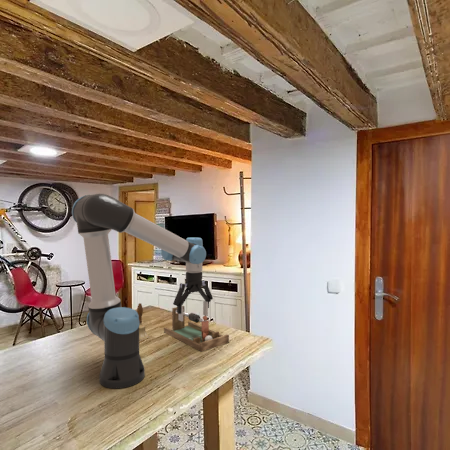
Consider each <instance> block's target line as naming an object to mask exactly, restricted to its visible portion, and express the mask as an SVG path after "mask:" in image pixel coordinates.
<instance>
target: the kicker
mask: <svg viewBox="0 0 450 450" xmlns="http://www.w3.org/2000/svg"><path fill="white" fill-rule="evenodd" d="M176 313H177V310H176ZM183 315H185V317H188V320H189V321H190V322H193V323H195V324H198V323H201V326H202V342H204V341H205V337H206V336H208V335H209V330H210V329H209V324H210V323H209V322H210V321H209V320H208V316H205V315H203V317H202V318H201V316H200V315H199V314H196V313H194V312H190V313H188V312H185V311H184V312H183Z"/></svg>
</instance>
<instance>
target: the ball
mask: <svg viewBox="0 0 450 450" xmlns="http://www.w3.org/2000/svg"><path fill="white" fill-rule="evenodd" d="M211 339H213V338H212V337H211V336H209V335H208V336H206V337H205V341H208V340H211Z"/></svg>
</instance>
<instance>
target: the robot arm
mask: <svg viewBox="0 0 450 450" xmlns="http://www.w3.org/2000/svg"><path fill="white" fill-rule="evenodd" d="M71 215H72V218H73V220H74V221H75V223H76V226H77V234H79V236H81V237H82V238H83V244H84V251H85V259H86V266H87V268H86V269H87V275H88V282H89V290H90V296H91V297H90V298H91V301H90V302H89V303H88V304H87V305H88V306H87V307H88V312H87V315H86V323H87V327H88V330H89V331H90V332H91V333H92V334H93V335H95V336H96V337H98V338H99V339H100V340H102V341H103V342H104V348H103V349H104V351H103V352H104V359H103V363H102V365H101V367H100V372H99V377H98V378H99V384H100V385H101V386H103V387H104V388H107V389H125V388H129V387H132V386H135V385H137V384H138V383H140V382H141V381H143V380H144V378H145V375H146V374H145V371H146V369H145V366H144V363H143V359H142V357H141V355H140V341H139V324H140V322H139V315H138V313H137V310H135V309H133V308H131V307H126V306H123V307H122V302H121V301H122V300H121V298H119V297H118V296H117V295H116V288H115V278H114V272H113V262H112V255H111V249H110V246H111V245H110V240H109V234H110V232H111V231H112V230H113V231H115V232H118V233H120V234H122V233H127V234H128V235H130V236H133V237H135V238H136V239H139V240H141V241H143V242H145V243H147V244H149V245H152V246H153V247H156V248H157V249H160V250H161V251H160V254H161V257H162V259H163V260H164V261H166V262H167V261H169V262H172V261H179V262H183V263H185V271H186V272H185V283H183V282H180V283H179V289H178V291H177V294H176V295H175V298H174V301H173V302H172V304H173V305H174V306H176V307H177V312H176V314H177V313H178V314H179V319H178V320H179V321H183V306H184V304H185V302H186V301H187V299H188V297H189V296H190V295H191V294H192V293H198V294H199V295H201V297H202V298H203V299H204V300H203V301H202V304H203V305H202V306H203V307H202V315H203V316H207V317H209V308H210V303H211V301H212V300H213V299H214V298H213V295H212V293H211V290H210V288H209V284H208V281H207V280H205V279H203V272H202V271H203V263H204V262H205V259H206V257H207V251H206V249H205V247H204V246H203V245H204V244H203V239H202V238H201V237H187V238H186V239H185V238H182V237H180V236H179V235H177V234H176V233H173V232H172V231H170V230H168V229H166V228H163V227H162V226H160V225H158V224H157V223H154V222H153V221H151V220H149V219H147V218H145V217H144V216H141V215H139V214H137V213H136V212H135V209H134V208H132V207H131V206H129V205H127V204H125V203H124V202H122V201H120V200H119V199H116V198H115V197H113V196H112V195H109V194H106V193H95V194H87V195H83V196H81V197H80V198H77V199H76V200H75V201H74V203H73V205H72V207H71Z"/></svg>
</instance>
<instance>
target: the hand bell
mask: <svg viewBox="0 0 450 450" xmlns="http://www.w3.org/2000/svg"><path fill="white" fill-rule="evenodd" d="M143 311H144V309H143V305H142V303H138V305H137V308H136V312H137V313H138V315H139V322H140V324H139V342H140V341H142V340H144V339H147V338H150V336H149V334H148V333H147V331H146V326H145V324H143V323H142V322H143V321H142V320H143V318H142V317H143V313H144V312H143Z"/></svg>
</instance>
